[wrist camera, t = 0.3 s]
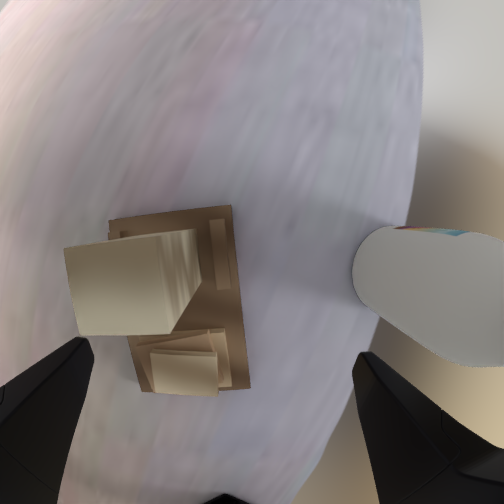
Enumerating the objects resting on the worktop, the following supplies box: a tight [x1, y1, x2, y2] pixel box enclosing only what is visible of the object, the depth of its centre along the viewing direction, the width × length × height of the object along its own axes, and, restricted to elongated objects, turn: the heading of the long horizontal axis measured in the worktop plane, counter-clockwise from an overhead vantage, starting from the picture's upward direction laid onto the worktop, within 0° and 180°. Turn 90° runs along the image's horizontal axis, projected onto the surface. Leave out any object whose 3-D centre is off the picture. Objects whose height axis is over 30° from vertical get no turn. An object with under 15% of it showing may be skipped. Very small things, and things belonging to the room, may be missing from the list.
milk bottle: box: [352, 226, 504, 367], centre depth 14 cm, size 8×8×20 cm
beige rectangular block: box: [64, 229, 202, 336], centre depth 17 cm, size 4×4×11 cm
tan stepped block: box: [108, 205, 251, 397], centre depth 22 cm, size 16×10×4 cm, turn 5°
